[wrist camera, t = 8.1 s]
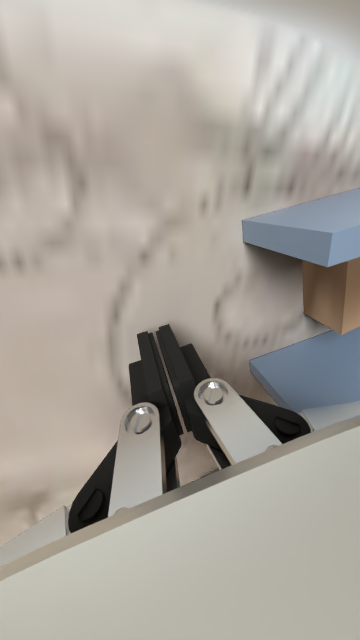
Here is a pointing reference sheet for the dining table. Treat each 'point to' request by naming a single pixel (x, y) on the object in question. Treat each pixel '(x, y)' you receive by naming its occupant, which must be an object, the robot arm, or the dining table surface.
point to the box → (331, 347)
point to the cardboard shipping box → (333, 294)
